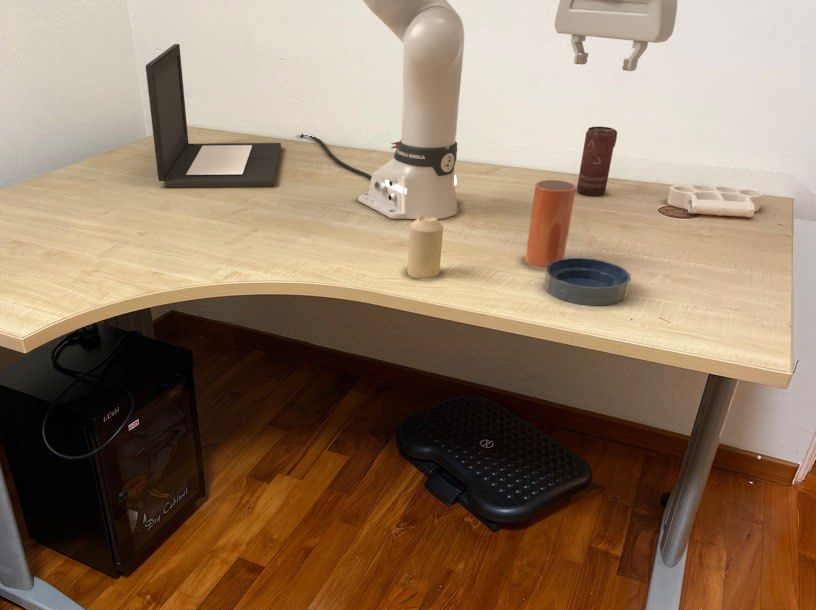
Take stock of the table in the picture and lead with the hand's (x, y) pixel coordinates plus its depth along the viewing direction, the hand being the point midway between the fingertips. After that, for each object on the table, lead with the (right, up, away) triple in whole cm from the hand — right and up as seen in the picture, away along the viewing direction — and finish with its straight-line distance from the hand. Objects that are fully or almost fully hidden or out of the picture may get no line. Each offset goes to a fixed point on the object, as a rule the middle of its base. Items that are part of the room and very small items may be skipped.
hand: (603, 67), depth 129 cm
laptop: (-72, +1, +65) cm, 97 cm away
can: (+14, -11, +43) cm, 47 cm away
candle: (-30, -35, +3) cm, 46 cm away
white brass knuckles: (+36, -17, +33) cm, 51 cm away
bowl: (-5, -38, -4) cm, 39 cm away
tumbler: (-8, -32, +7) cm, 34 cm away
